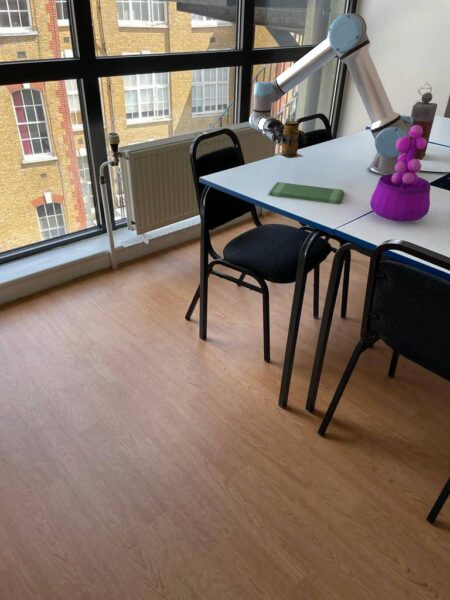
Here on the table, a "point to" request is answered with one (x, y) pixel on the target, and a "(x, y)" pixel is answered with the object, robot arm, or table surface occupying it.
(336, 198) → the towel
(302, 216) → the table surface
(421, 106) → the glass decanter
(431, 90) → the dna model
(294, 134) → the condiment
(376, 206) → the decorative plant
